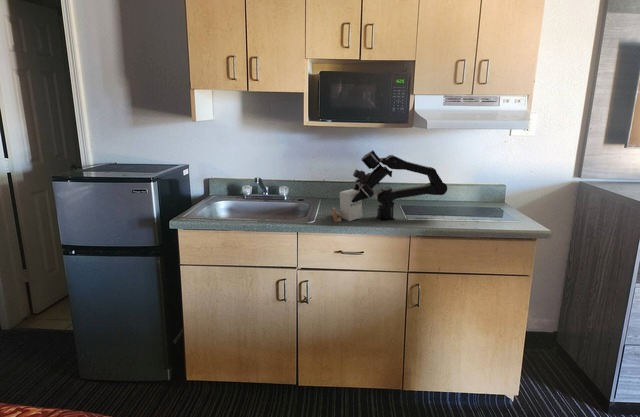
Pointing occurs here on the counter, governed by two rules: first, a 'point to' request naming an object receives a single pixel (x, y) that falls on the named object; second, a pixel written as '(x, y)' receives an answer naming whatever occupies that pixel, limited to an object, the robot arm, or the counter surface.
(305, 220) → the counter surface
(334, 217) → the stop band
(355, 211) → the supplement box
